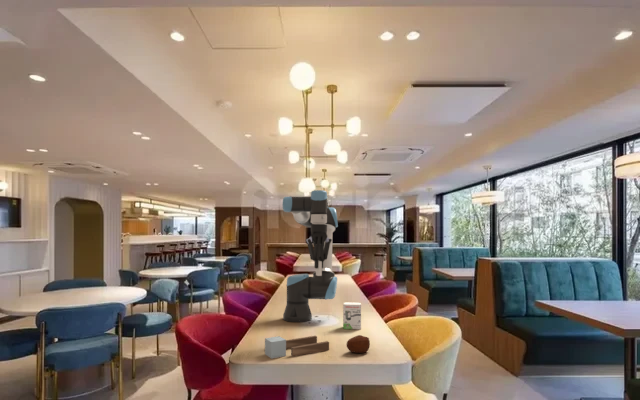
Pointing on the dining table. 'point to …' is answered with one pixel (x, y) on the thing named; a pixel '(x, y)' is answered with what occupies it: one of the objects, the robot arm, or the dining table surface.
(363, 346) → the potato
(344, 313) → the ink box
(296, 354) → the pair of wooden slats
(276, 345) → the block
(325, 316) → the dining table surface
